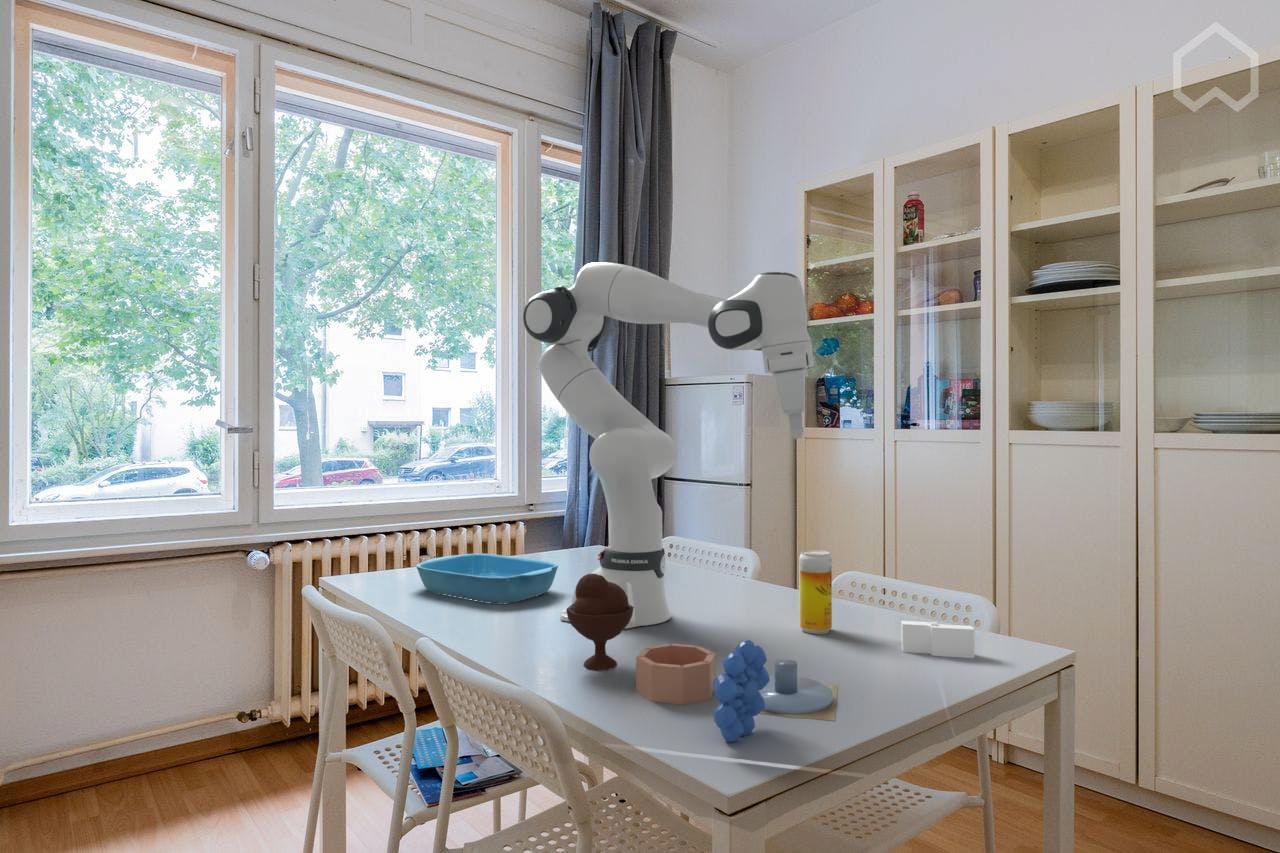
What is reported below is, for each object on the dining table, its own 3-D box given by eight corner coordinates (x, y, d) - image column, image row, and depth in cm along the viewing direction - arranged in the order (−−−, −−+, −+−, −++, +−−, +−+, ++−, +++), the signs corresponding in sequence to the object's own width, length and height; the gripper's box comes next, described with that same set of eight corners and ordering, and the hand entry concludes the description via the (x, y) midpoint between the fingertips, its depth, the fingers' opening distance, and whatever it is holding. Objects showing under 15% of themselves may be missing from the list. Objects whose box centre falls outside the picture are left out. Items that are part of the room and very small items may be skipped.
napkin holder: (992, 658, 130) (992, 625, 130) (958, 672, 123) (958, 637, 123) (913, 639, 142) (913, 608, 142) (877, 651, 135) (877, 618, 135)
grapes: (735, 714, 104) (735, 627, 104) (780, 726, 100) (780, 635, 100) (688, 743, 95) (688, 647, 95) (735, 757, 91) (735, 657, 91)
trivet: (729, 713, 105) (729, 710, 105) (744, 680, 118) (744, 677, 118) (834, 723, 101) (834, 720, 101) (837, 688, 114) (837, 685, 114)
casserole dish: (399, 591, 183) (398, 561, 183) (470, 576, 201) (470, 549, 201) (507, 613, 161) (507, 579, 161) (576, 594, 179) (576, 564, 179)
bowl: (629, 701, 109) (629, 663, 109) (650, 676, 120) (650, 641, 120) (705, 709, 106) (705, 669, 106) (719, 683, 117) (719, 647, 117)
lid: (734, 709, 105) (733, 673, 105) (747, 678, 118) (747, 646, 118) (831, 718, 101) (831, 681, 101) (834, 686, 114) (834, 653, 114)
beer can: (832, 635, 143) (832, 555, 143) (799, 633, 144) (799, 554, 144) (830, 627, 149) (830, 550, 149) (799, 625, 150) (799, 549, 150)
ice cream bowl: (580, 679, 119) (580, 583, 118) (559, 659, 129) (559, 570, 129) (643, 670, 123) (643, 577, 123) (617, 651, 133) (617, 566, 133)
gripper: (773, 363, 149) (782, 434, 149) (768, 362, 129) (778, 443, 129) (805, 359, 147) (815, 430, 148) (805, 357, 127) (816, 438, 128)
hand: (798, 436), depth 138 cm, fingers open, 8 cm apart
